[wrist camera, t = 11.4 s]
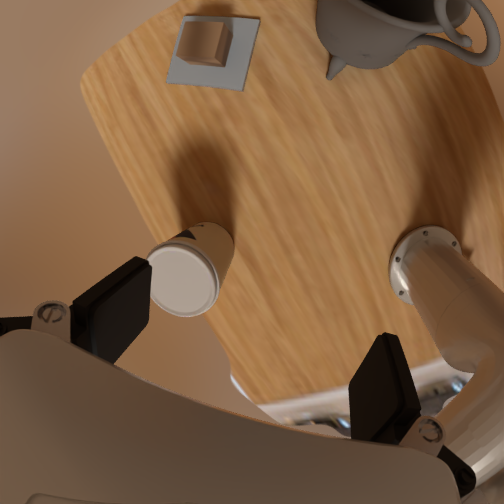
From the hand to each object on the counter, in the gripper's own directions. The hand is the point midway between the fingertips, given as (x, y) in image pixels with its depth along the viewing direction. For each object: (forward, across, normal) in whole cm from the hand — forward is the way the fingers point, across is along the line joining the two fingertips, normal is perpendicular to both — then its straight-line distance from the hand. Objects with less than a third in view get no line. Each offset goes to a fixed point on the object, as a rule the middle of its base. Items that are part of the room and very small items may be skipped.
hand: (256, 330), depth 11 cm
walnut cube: (+28, +16, -18) cm, 37 cm away
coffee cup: (+29, +10, +10) cm, 33 cm away
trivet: (+29, +16, -18) cm, 37 cm away
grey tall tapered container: (+30, -3, -24) cm, 38 cm away
